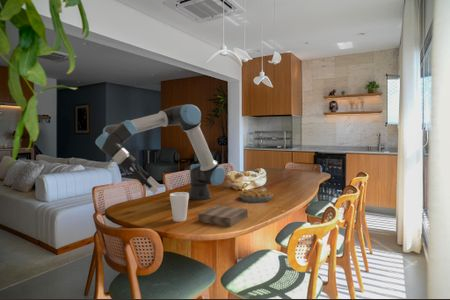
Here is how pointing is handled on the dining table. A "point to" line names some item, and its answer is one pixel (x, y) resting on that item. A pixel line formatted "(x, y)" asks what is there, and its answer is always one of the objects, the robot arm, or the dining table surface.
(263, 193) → the pie
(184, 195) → the foam cup
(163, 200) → the dining table surface
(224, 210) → the walnut riser
